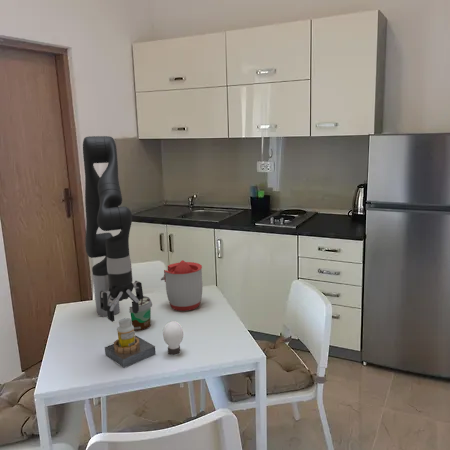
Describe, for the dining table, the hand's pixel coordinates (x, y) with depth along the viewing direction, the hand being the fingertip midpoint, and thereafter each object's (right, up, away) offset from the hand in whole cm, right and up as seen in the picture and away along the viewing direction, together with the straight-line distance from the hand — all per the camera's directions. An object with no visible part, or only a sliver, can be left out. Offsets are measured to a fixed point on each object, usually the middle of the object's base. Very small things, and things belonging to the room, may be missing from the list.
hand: (123, 316), depth 153 cm
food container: (+3, -9, +26) cm, 27 cm away
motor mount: (+1, -13, +3) cm, 14 cm away
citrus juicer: (+16, -4, +44) cm, 46 cm away
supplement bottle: (+1, -11, +2) cm, 11 cm away
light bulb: (+16, -13, +4) cm, 21 cm away
